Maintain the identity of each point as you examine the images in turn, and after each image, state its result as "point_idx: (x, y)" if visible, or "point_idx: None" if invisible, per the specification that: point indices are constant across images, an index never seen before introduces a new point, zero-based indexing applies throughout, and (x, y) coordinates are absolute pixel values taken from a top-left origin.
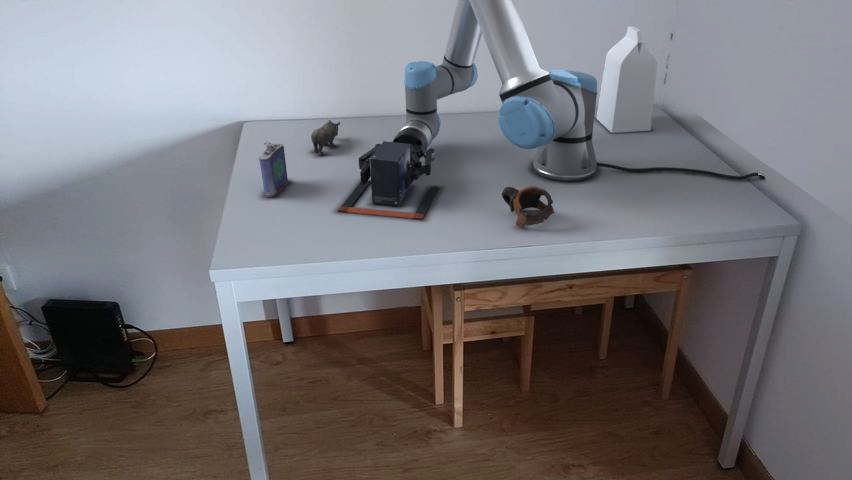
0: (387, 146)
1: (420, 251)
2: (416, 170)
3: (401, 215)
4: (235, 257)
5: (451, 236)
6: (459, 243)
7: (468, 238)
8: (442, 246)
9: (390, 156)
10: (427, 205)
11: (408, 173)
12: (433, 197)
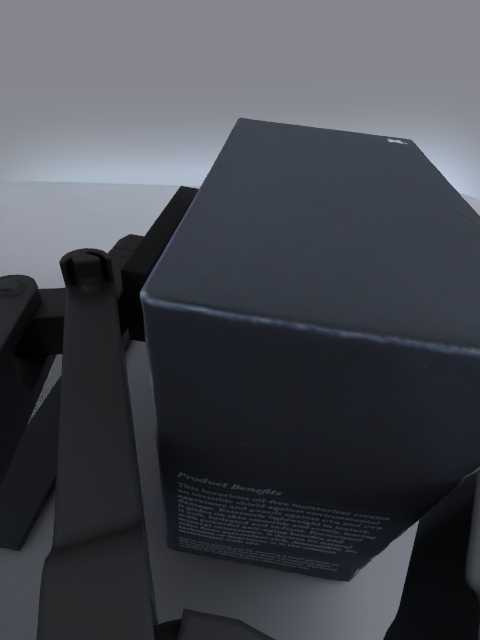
0: (407, 217)
1: (156, 187)
2: (123, 262)
3: None
4: (474, 206)
5: (71, 210)
6: (61, 194)
7: (29, 203)
8: (105, 192)
9: (296, 135)
10: None
11: (176, 202)
12: (53, 387)
